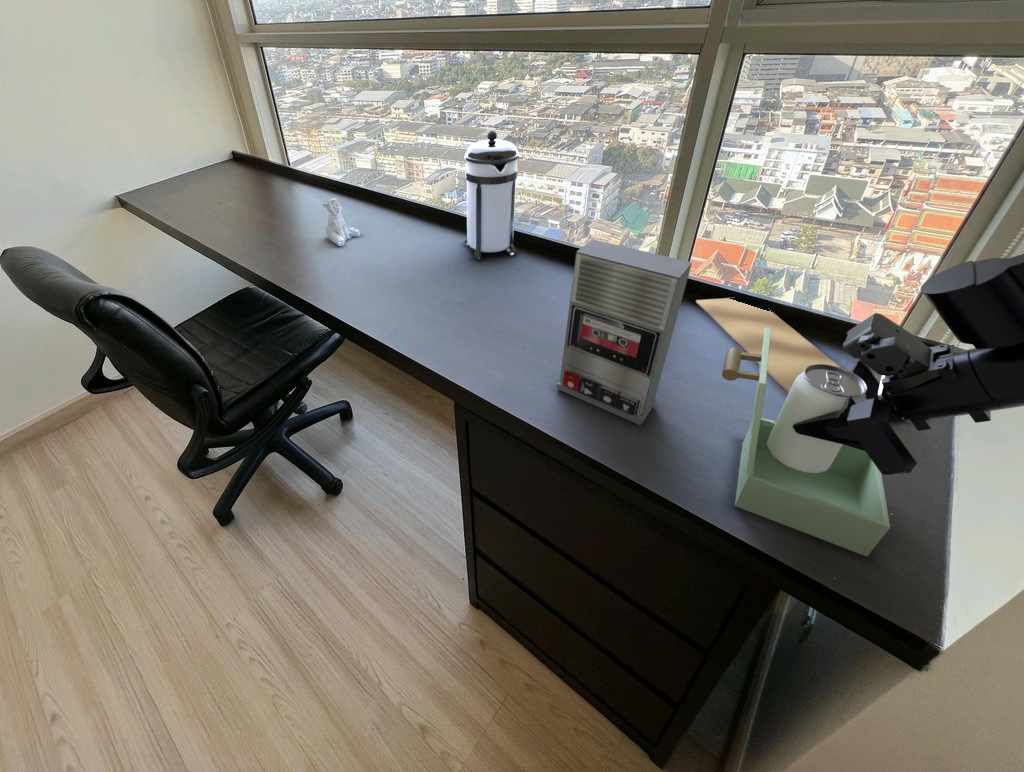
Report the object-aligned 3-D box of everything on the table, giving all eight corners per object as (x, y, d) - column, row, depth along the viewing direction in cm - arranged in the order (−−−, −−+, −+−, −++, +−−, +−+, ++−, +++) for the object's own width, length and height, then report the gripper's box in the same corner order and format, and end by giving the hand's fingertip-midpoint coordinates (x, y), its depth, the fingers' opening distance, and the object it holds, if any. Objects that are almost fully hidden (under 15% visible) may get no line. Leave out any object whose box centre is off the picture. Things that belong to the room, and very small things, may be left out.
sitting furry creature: (341, 247, 134) (334, 206, 128) (318, 242, 138) (310, 202, 132) (361, 235, 141) (356, 195, 134) (339, 230, 145) (332, 191, 138)
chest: (858, 481, 62) (878, 451, 59) (867, 556, 54) (890, 527, 51) (742, 443, 68) (754, 415, 65) (734, 506, 60) (748, 477, 57)
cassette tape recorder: (555, 390, 80) (572, 253, 66) (572, 372, 84) (591, 238, 70) (639, 427, 72) (678, 280, 58) (654, 405, 76) (693, 262, 62)
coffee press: (530, 244, 129) (538, 126, 113) (498, 266, 119) (502, 140, 103) (477, 231, 139) (477, 120, 122) (443, 251, 128) (439, 133, 112)
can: (762, 459, 59) (796, 384, 53) (769, 428, 63) (802, 355, 57) (827, 484, 55) (872, 407, 49) (831, 449, 60) (873, 373, 53)
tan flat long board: (902, 420, 70) (904, 418, 70) (821, 426, 70) (822, 424, 70) (752, 297, 100) (753, 296, 100) (695, 301, 100) (695, 300, 100)
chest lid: (771, 328, 59) (730, 324, 61) (766, 383, 51) (719, 377, 53) (758, 413, 65) (722, 407, 67) (752, 475, 57) (711, 466, 59)
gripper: (937, 270, 50) (778, 323, 63) (928, 353, 39) (737, 398, 52) (1003, 358, 50) (829, 394, 62) (1012, 468, 39) (799, 485, 51)
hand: (800, 413), depth 57 cm, fingers closed on can, 6 cm apart
